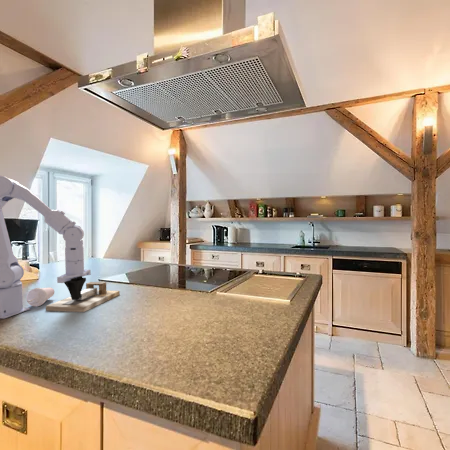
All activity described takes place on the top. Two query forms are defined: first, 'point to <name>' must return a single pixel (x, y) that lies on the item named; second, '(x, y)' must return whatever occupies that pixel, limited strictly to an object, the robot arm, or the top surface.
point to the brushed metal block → (87, 293)
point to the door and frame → (84, 300)
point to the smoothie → (39, 296)
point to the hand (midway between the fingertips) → (75, 299)
